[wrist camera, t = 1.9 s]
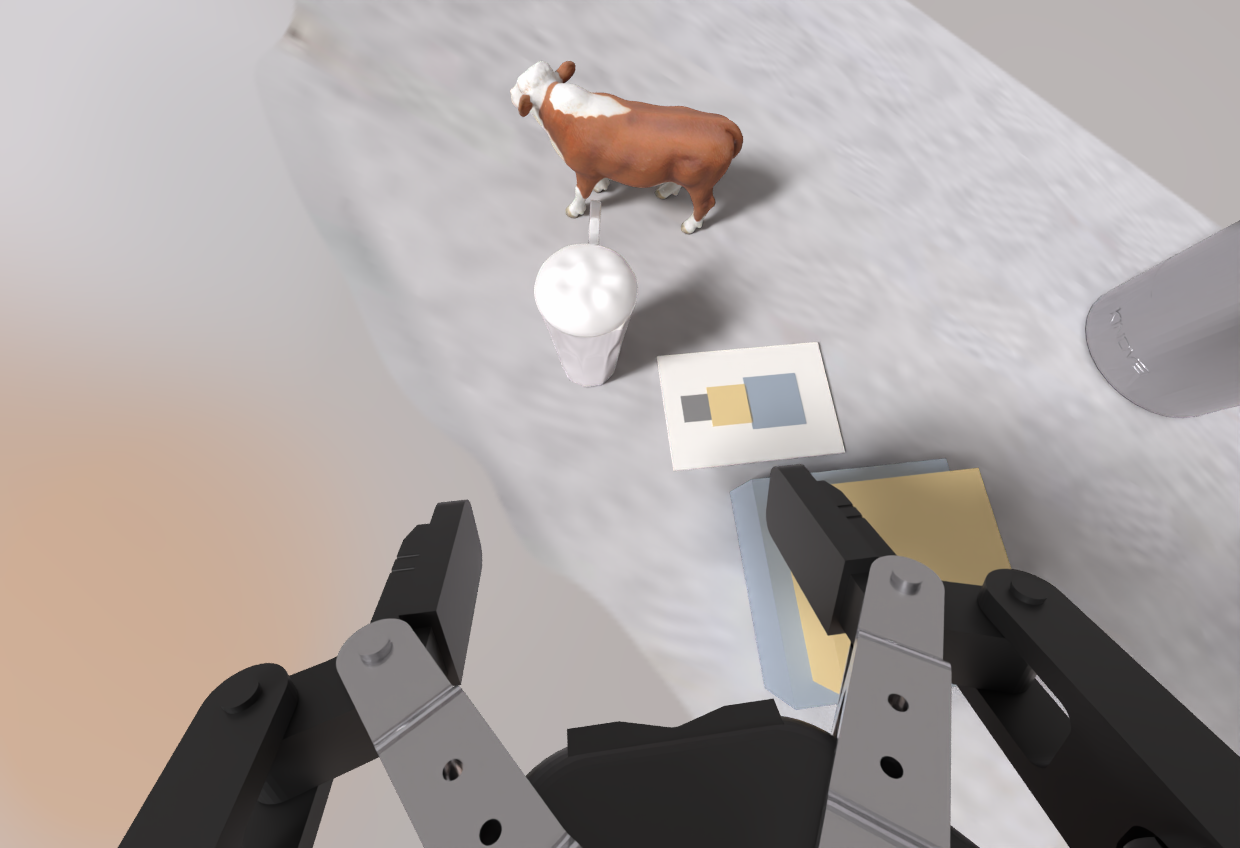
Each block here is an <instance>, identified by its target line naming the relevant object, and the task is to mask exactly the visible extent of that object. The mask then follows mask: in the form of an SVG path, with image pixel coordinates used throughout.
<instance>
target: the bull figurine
mask: <svg viewBox="0 0 1240 848" xmlns="http://www.w3.org/2000/svg"><path fill="white" fill-rule="evenodd" d="M574 72H575V63H574V62H572V61H566V62H564V63H562V65H561V66H560V67H559V68H558V70H556V71H555V72H553V70H552V68H551V67H550V65H549V64H548V63H546V62H543V61H539V62H538V63H536V64H534V65H533V66H531V67H530V68H529V69H528V70H527V71H526V72H524V73H523V74H522V75H521V76H519V77H518V80H517V84H516V85H515V86H514V87H513V88H512V89H511V90H510V93H511V100H512V102H513V104H514V105H515V106H516V107H517V108H518V111H519V114H520V115H521V116H522V117H525V116H526V115H528V113H530V114H532V115H533V116H534V117H535V119H536V120H537V122H538V123H539V124H540V125H541V126H542V127H543V128H544V129H545V131H546V132H547V134H548V135H549V137H550V140H551V143H552V145H553V147H554V149H555V150H556V152H557V153H558V155H559V156H560V157H561V158H562V159H563V160H564V161H565V163H566V164H567V165H568V166H569V167H570V168H571V169H572V170H574V171H575V172H576V177H577V185H576V188H575V194H576V197H575V199H574V201H573V203H572V204H571V205H569V206H568V207H567V208H566V215H567V216H569V217H570V218H576V217H578V215H579V214H581V215H582V214H583V213H584V211H585V210H586V205H585V200H586V199H587V198H588V197H589V196H590V194H591V192H592V190H593V191H595V192H598V193H599V192H601V190H603V189H604V190H607V187H608V185H610V180H609V179H611V180H613V181H616V182H619V183H622V184H625V185H628V186H632V187H639V188H646V187H652V186H657V185H660V184H663V183H666V184H663V185H661V186H660V187H659V188H657V190H656V191H655V194H656V196H657V197H658V198H660V199H665V198H667V197H668V196H669V195H670V194H673V195H674V196H677V195H678V193H679V190H680V189H681V187H684V188H685V189H686V190H687V191H688V192H689V194H690V196H691V199H692V202H693V205H694V210H693V214H692V215H691V217H690V218H689V219H687V220H686V221H685V222H683V223H682V225H681V230H682V232H684V233H686V234H691V233H693V232H694V230H695V229H696V227H698V228H701V227H702V223H703V220H704V218H705V216H706V214H707V213H708V211H709V210H710V209H711V208H712V207H713V206H714V205H715V199H714V197H713V192H712V191H713V186H714V185H715V184H716V183H717V182H718V181H719V180H720V179H721V177H722V176H723V175H724V174H725V172H726V171H727V169H728V167H729V165H730V163H731V161H732V159H733V158H735V157H736V156H737V154H738V153H739V152H740V150H741V148H742V144H743V136H742V133H741V131H740V129H739V127H738V126H737V125H736V124H735V123H734V122H733V121H731V120H729V119H728V118H727V117H725V116H722V115H719V114H713V113H706V112H701V111H698V110H694V109H691V108H688V107H684V106H668V107H667V106H658V105H652V104H647V103H643V102H637V101H627V100H624V99H621V98H619V97H617V96H615V95H611V94H607V93H591V92H589V91H587V90H585V89H583V88H581V87H579V86H577V85H573V84H565V82H567V81H568V80H569V79H570V78H571V77H572V76H573V74H574ZM608 178H609V179H608ZM667 182H669V183H667Z"/></svg>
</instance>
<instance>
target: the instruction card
mask: <svg viewBox="0 0 1240 848" xmlns="http://www.w3.org/2000/svg"><path fill="white" fill-rule="evenodd" d="M657 363H658V370H659V377H660V383H661V390H662V397H663V404H664V410H665V417H666V424H667V431H668V437H669V444H670V451H671V458H672V464H673V471H682V470H691V469H701V468H710V467H719V466H729V465H738V464H748V463H757V462H766V461H776V460H785V459H795V458H804V457H813V456H823V455H832V454H842V453H845V449H844V445H843V441H842V437H841V433H840V429H839V425H838V421H837V417H836V413H835V409H834V405H833V401H832V397H831V394H830V390H829V386H828V382H827V378H826V374H825V370H824V366H823V362H822V358H821V354H820V350H819V346H818V342H811V343H800V344H789V345H777V346H766V347H754V348H743V349H732V350H720V351H709V352H697V353H686V354H675V355H663V356H657Z"/></svg>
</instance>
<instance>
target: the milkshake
mask: <svg viewBox="0 0 1240 848" xmlns="http://www.w3.org/2000/svg"><path fill="white" fill-rule="evenodd" d="M600 215H601V201H597V200H591V201H590V217H589V239H588V244H575V245H570V246H566V247H564V248H562V249H560V250H559V251H557V252H556V253H554V254H553V255H552V256H550V257H549V258H548V259H547V260H546V261H545V262H544V264H543V265H542V266H541V268H540V270H539V272H538V275H537V278H536V282H535V286H534V295H535V301H536V304H537V307H538V309H539V311H540V313H541V315H542V317H543V320H544V322H545V324H546V326H547V329H548V331H549V333H550V335H551V338H552V341H553V344H554V346H555V349H556V352H557V355H558V357H559V360H560V363H561V366H562V367H563V369H564V371H565V373H566V375H567V377H568V378H569V380H570V381H572V382H575V383H577V384H579V385H581V386H583V387H590V386H597V385H602V384H603V383H604V382H605V381H606V380H607V379H608V378H609V377H610V376H611V375H613V374H614V371H615V367H616V364H617V360H618V356H619V353H620V349H621V345H622V342H623V338H624V335H625V332H626V329H627V326H628V324H629V321H630V318H631V315H632V312H633V309H634V307H635V304H636V299H637V291H638V285H637V279H636V276H635V274H634V272H633V271H632V269H631V268H630V266H629V265H628V263H627V262H626V260H625V259H624V258H623V257H622V256H621V255H620V254H618V253H617V252H615V251H613V250H611V249H609V248H606V247H603V246H599V231H600Z"/></svg>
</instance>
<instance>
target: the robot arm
mask: <svg viewBox="0 0 1240 848" xmlns="http://www.w3.org/2000/svg"><path fill="white" fill-rule="evenodd" d="M1086 336H1087V343H1088V346H1089V350H1090V353H1091V356H1092V358H1093V360H1094V361H1095V363H1096V365H1097V367H1098V369H1099V370H1100V372H1101V373H1102V374H1103V376H1104V377H1105V378H1106V379H1107V381H1108V382H1109V383H1110V384H1111V385H1112V386H1113V387H1114V388H1115V389H1116V390H1117V391H1118V392H1119V393H1120V394H1122V395H1123V396H1124V397H1126V398H1127V399H1129V400H1130V401H1132V402H1133V403H1135V404H1136V405H1138V406H1140V407H1142V408H1144V409H1146V410H1148V411H1151V412H1153V413H1157V414H1160V415H1164V416H1167V417H1178V418H1187V417H1195V416H1200V415H1204V414H1208V413H1212V412H1216V411H1219V410H1223V409H1227V408H1231V407H1235V406H1239V405H1240V221H1238V222H1236V223H1234V224H1232V225H1230V226H1228V227H1227V228H1225V229H1223V230H1221V231H1219V232H1217V233H1215V234H1214V235H1212V236H1210V237H1208V238H1206V239H1204V240H1203V241H1201V242H1199V243H1197V244H1195V245H1193V246H1192V247H1190V248H1188V249H1186V250H1184V251H1182V252H1181V253H1179V254H1177V255H1175V256H1173V257H1171V258H1169V259H1167V260H1165V261H1163V262H1162V263H1160V264H1158V265H1156V266H1154V267H1152V268H1151V269H1149V270H1147V271H1145V272H1143V273H1142V274H1140V275H1138V276H1136V277H1134V278H1132V279H1131V280H1129V281H1127V282H1125V283H1123V284H1121V285H1120V286H1118V287H1116V288H1114V289H1112V290H1110V291H1109V292H1107V293H1106V294H1104V295H1102V296H1101V297H1100V298H1099V299H1098V300H1097V301H1096V302H1095V303H1094V304H1093V306H1092V308H1091V310H1090V312H1089V314H1088V318H1087V324H1086ZM766 522H767V527H768V530H769V533H770V535H771V537H772V539H773V541H774V542H775V544H776V546H777V548H778V549H779V551H780V553H781V555H782V556H783V558H784V560H785V562H786V563H787V565H788V567H789V569H790V570H791V572H792V574H793V576H794V577H795V579H796V581H797V583H798V584H799V586H800V588H801V590H802V591H803V593H804V595H805V597H806V598H807V600H808V602H809V604H810V605H811V607H812V609H813V611H814V612H815V614H816V616H817V618H818V619H819V621H820V623H821V625H822V626H823V628H824V630H825V632H826V633H827V635H828V636H830V635H837V634H844V633H846V635H847V636H848V638H849V640H850V641H851V643H850V646H849V650H848V655H847V660H846V664H845V669H844V674H843V679H842V684H841V688H840V693H839V698H838V703H837V708H836V712H835V717H834V721H833V726H832V730H831V734H830V733H828V732H826V731H824V730H822V729H820V728H818V727H816V726H814V725H812V724H809V723H807V722H804V721H801V720H798V719H794V718H790V717H784V716H780V713H779V711H778V709H777V706H776V704H775V701H774V699H768V700H762V701H755V702H748V703H741V704H734V705H728V706H723V707H721V708H719V709H716V710H714V711H712V712H710V713H708V714H705V715H703V716H701V717H699V718H697V719H694V720H692V721H690V722H688V723H685V724H683V725H681V726H678V727H673V728H671V727H661V726H653V725H645V724H636V723H627V722H620V721H619V722H612V723H605V724H598V725H592V726H585V727H578V728H571V729H567V739H568V747H566V748H564V749H562V750H560V751H558V752H556V753H555V754H553V755H551V756H549V757H548V758H546V759H545V760H543V761H542V762H541V763H540V764H539V765H537V766H536V767H534V768H533V769H532V771H531V772H529V773H528V774H527V775H526V776H525V775H524V774H523V772H522V771H521V769H520V768H519V767H518V765H517V764H516V763H515V761H514V760H513V758H512V757H511V756H510V754H509V753H508V751H507V750H506V749H505V747H504V746H503V745H502V743H501V742H500V740H499V739H498V738H497V736H496V735H495V734H494V732H493V731H492V730H491V728H490V727H489V725H488V724H487V722H486V721H485V720H484V718H483V717H482V716H481V714H480V713H479V711H478V710H477V709H476V707H475V706H474V704H473V703H472V702H471V700H470V699H469V698H468V696H467V695H466V693H465V692H464V691H463V690H462V689H461V688H460V687H459V686H458V685H461V681H462V675H463V670H464V664H465V658H466V653H467V647H468V642H469V636H470V631H471V625H472V620H473V614H474V608H475V603H476V598H477V592H478V587H479V581H480V575H481V569H482V550H481V544H480V540H479V536H478V531H477V528H476V523H475V519H474V515H473V511H472V507H471V504H470V502H469V500H459V501H451V502H441V503H438V504H437V505H436V507H435V510H434V513H433V516H432V519H431V522H430V524H422V525H417V526H416V527H415V528H414V529H413V530H412V531H411V532H410V533H409V535H408V536H407V537H406V538H405V539H404V540H403V542H402V545H401V547H400V550H399V552H398V555H397V559H396V560H395V562H394V565H393V567H392V573H390V575H389V577H388V580H387V582H386V585H385V587H384V590H383V592H382V595H381V597H380V600H379V602H378V605H377V607H376V610H375V612H374V615H373V617H372V620H371V623H370V624H368V625H366V626H364V627H362V628H361V629H359V630H358V631H356V632H355V633H354V634H353V635H352V636H351V637H350V638H349V639H348V640H347V641H346V642H345V643H344V645H343V646H342V647H341V650H340V651H339V653H338V656H337V657H335V658H333V659H331V660H328V661H326V662H324V663H321V664H318V665H316V666H313V667H311V668H308V669H306V670H303V671H300V672H298V673H296V674H293V675H290V676H289V675H288V674H287V672H286V670H285V669H284V668H283V667H282V666H280V665H278V664H274V663H264V664H259V665H254V666H251V667H249V668H246V669H244V670H242V671H240V672H238V673H236V674H234V675H233V676H231V677H230V678H228V679H227V680H225V681H224V682H223V683H221V684H220V685H219V686H218V687H217V688H216V689H215V690H214V691H212V692H211V694H210V695H209V696H208V697H207V698H206V700H205V701H204V702H203V704H202V706H201V707H200V709H199V710H198V712H197V714H196V716H195V717H194V719H193V721H192V722H191V724H190V726H189V727H188V729H187V731H186V732H185V734H184V736H183V738H182V739H181V741H180V743H179V744H178V746H177V748H176V750H175V751H174V753H173V755H172V756H171V758H170V760H169V762H168V763H167V765H166V767H165V768H164V770H163V772H162V774H161V775H160V777H159V778H158V780H157V782H156V784H155V785H154V787H153V789H152V791H151V792H150V794H149V795H148V797H147V799H146V801H145V802H144V804H143V806H142V807H141V809H140V811H139V813H138V814H137V816H136V818H135V819H134V821H133V823H132V824H131V826H130V828H129V830H128V831H127V833H126V835H125V836H124V838H123V840H122V841H121V843H120V845H119V847H118V848H313V844H314V841H315V838H316V834H317V831H318V828H319V824H320V821H321V818H322V815H323V812H324V808H325V805H326V802H327V799H328V795H329V792H330V788H331V785H332V782H333V779H334V778H336V777H338V776H340V775H342V774H344V773H346V772H348V771H351V770H353V769H355V768H357V767H359V766H361V765H363V764H365V763H368V762H370V761H372V760H373V759H376V758H378V757H380V759H381V761H382V763H383V765H384V767H385V769H386V771H387V773H388V776H389V777H390V780H391V782H392V783H393V786H394V787H395V790H396V792H397V794H398V796H399V798H400V800H401V802H402V804H403V806H404V808H405V810H406V812H407V814H408V816H409V818H410V820H411V822H412V824H413V826H414V828H415V830H416V832H417V834H418V836H419V838H420V840H421V842H422V844H423V847H424V848H979V847H978V846H977V845H975V844H974V843H973V842H972V841H970V840H969V839H968V838H966V837H965V836H964V835H963V834H961V833H960V832H959V831H957V830H956V829H955V828H953V827H952V826H951V825H950V804H951V684H955V685H957V686H958V688H959V689H960V691H961V692H962V693H963V695H964V696H965V698H966V699H967V701H968V702H969V703H970V705H971V706H972V708H973V709H974V711H975V712H976V714H977V715H978V716H979V718H980V719H981V721H982V722H983V724H984V725H985V726H986V728H987V729H988V731H989V732H990V734H991V735H992V737H993V738H994V739H995V741H996V742H997V744H998V745H999V747H1000V748H1001V749H1002V751H1003V752H1004V754H1005V755H1006V757H1007V758H1008V760H1009V761H1010V762H1011V764H1012V765H1013V767H1014V768H1015V770H1016V771H1017V773H1018V774H1019V775H1020V777H1021V778H1022V780H1023V781H1024V783H1025V784H1026V785H1027V787H1028V788H1029V790H1030V791H1031V793H1032V794H1033V796H1034V797H1035V798H1036V800H1037V801H1038V803H1039V804H1040V806H1041V807H1042V808H1043V810H1044V811H1045V813H1046V814H1047V816H1048V817H1049V819H1050V820H1051V821H1052V823H1053V824H1054V826H1055V827H1056V829H1057V830H1058V831H1059V833H1060V834H1061V836H1062V837H1063V839H1064V840H1065V842H1066V843H1067V844H1068V846H1069V847H1070V848H1240V757H1239V756H1238V755H1237V754H1236V753H1235V752H1234V751H1233V750H1232V749H1230V748H1229V747H1228V746H1227V745H1226V744H1225V743H1224V742H1223V741H1222V740H1221V739H1220V738H1219V737H1217V736H1216V735H1215V734H1214V733H1213V732H1212V731H1211V730H1210V729H1209V728H1208V727H1207V726H1206V725H1204V724H1203V723H1202V722H1201V721H1200V720H1199V719H1198V718H1197V717H1196V716H1195V715H1194V714H1193V713H1191V712H1190V711H1189V710H1188V709H1187V708H1186V707H1185V706H1184V705H1183V704H1182V703H1181V702H1180V701H1178V700H1177V699H1176V698H1175V697H1174V696H1173V695H1172V694H1171V693H1170V692H1169V691H1168V690H1167V689H1165V688H1164V687H1163V686H1162V685H1161V684H1160V683H1159V682H1158V681H1157V680H1156V679H1155V678H1154V677H1152V676H1151V675H1150V674H1149V673H1148V672H1147V671H1146V670H1145V669H1144V668H1143V667H1142V666H1141V665H1139V664H1138V663H1137V662H1136V661H1135V660H1134V659H1133V658H1132V657H1131V656H1130V655H1129V654H1128V653H1126V652H1125V651H1124V650H1123V649H1122V648H1121V647H1120V646H1119V645H1118V644H1117V643H1116V642H1115V641H1113V640H1112V639H1111V638H1110V637H1109V636H1108V635H1107V634H1106V633H1105V632H1104V631H1103V630H1102V629H1100V628H1099V627H1098V626H1097V625H1096V624H1095V623H1094V622H1093V621H1092V620H1091V619H1090V618H1088V617H1087V616H1086V615H1085V614H1084V613H1083V612H1082V611H1081V610H1080V609H1079V608H1078V607H1077V606H1075V605H1074V604H1073V603H1072V602H1071V601H1070V600H1069V599H1068V598H1067V597H1066V596H1065V595H1064V594H1062V593H1061V592H1060V591H1059V590H1058V589H1057V588H1056V587H1054V586H1053V585H1051V584H1050V583H1048V582H1047V581H1045V580H1043V579H1041V578H1039V577H1037V576H1035V575H1032V574H1030V573H1027V572H1023V571H1019V570H1014V569H997V570H994V571H991V572H990V573H988V575H987V576H986V578H985V580H984V583H983V585H982V586H980V585H972V584H964V583H956V582H948V581H942V580H941V579H940V578H939V576H938V575H937V574H936V573H935V572H934V571H933V570H931V569H930V568H929V567H927V566H926V565H924V564H922V563H920V562H918V561H916V560H913V559H910V558H907V557H903V556H897V555H896V554H895V552H894V551H893V550H892V549H891V548H890V547H889V546H888V544H887V543H886V542H885V541H884V540H883V539H882V537H881V536H880V535H879V534H878V533H877V532H876V530H875V529H874V528H873V527H872V526H871V525H870V523H869V522H868V521H867V520H866V519H865V518H863V517H862V514H861V513H860V512H859V511H858V510H857V508H856V507H853V504H852V503H851V501H850V500H849V499H848V498H847V497H846V496H845V494H844V493H843V492H842V491H841V490H839V489H837V488H836V487H834V486H833V485H831V484H829V483H828V482H826V481H824V480H822V481H816V479H815V478H814V477H813V476H812V474H811V473H810V472H809V471H808V470H807V468H806V467H805V466H804V465H802V464H796V465H787V466H778V467H773V468H772V470H771V474H770V481H769V490H768V498H767V507H766ZM1036 675H1038V676H1039V677H1040V679H1041V680H1042V681H1043V682H1044V683H1045V684H1046V685H1047V687H1048V688H1049V689H1050V690H1051V691H1052V692H1053V694H1054V695H1055V696H1056V697H1057V698H1058V699H1059V701H1060V702H1061V703H1062V704H1063V706H1064V707H1065V709H1066V711H1067V713H1068V715H1069V717H1068V716H1067V715H1066V714H1065V713H1064V712H1063V710H1062V709H1061V708H1060V707H1059V706H1058V705H1057V703H1056V702H1055V701H1054V700H1053V699H1052V697H1051V696H1050V695H1049V694H1048V693H1047V692H1046V690H1045V689H1044V688H1043V687H1042V686H1041V685H1040V683H1039V682H1038V681H1037V680H1036V679H1035V676H1036ZM453 686H454V687H453ZM1069 718H1070V719H1069Z"/></svg>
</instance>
